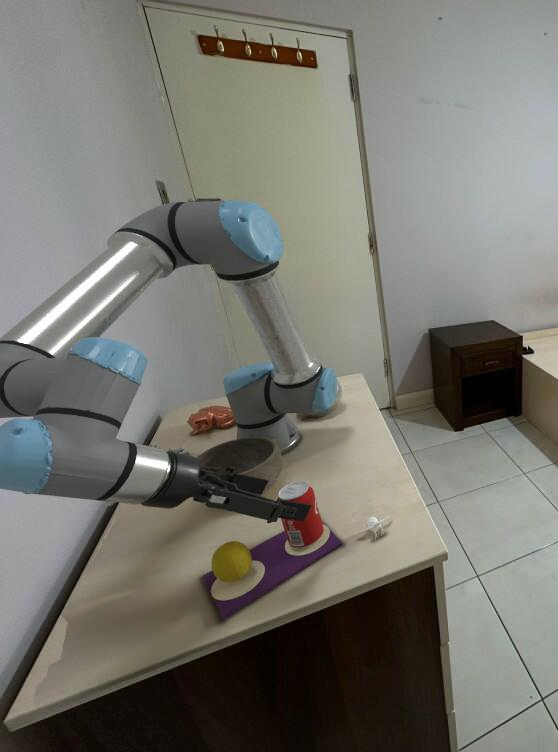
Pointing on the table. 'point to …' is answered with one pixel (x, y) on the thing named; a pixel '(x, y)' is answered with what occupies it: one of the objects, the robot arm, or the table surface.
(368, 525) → the white bird figurine
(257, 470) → the bowl
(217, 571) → the lemon
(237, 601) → the placemat
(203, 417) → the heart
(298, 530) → the beverage can
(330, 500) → the table surface
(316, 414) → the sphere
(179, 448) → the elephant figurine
